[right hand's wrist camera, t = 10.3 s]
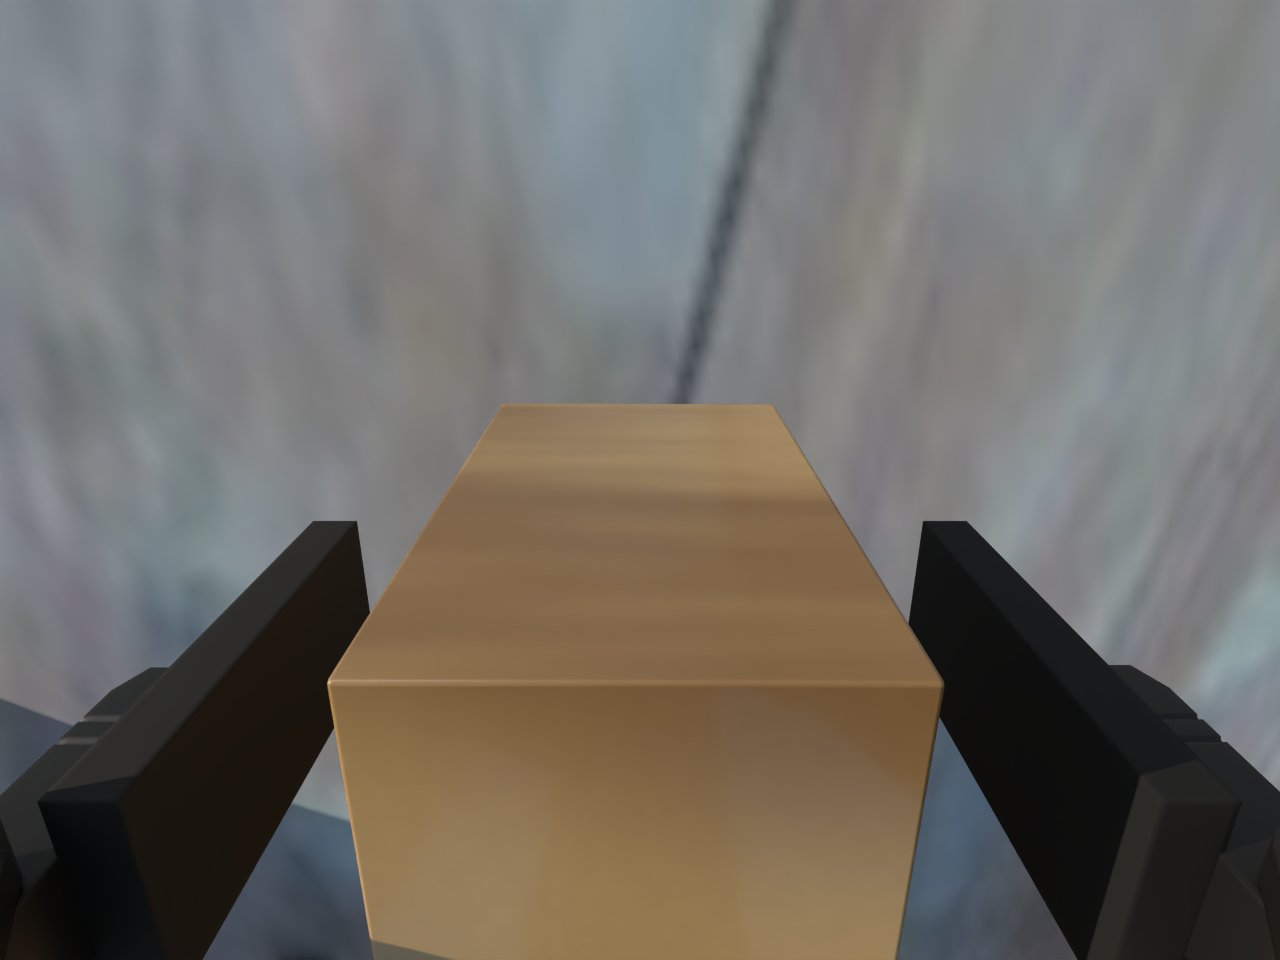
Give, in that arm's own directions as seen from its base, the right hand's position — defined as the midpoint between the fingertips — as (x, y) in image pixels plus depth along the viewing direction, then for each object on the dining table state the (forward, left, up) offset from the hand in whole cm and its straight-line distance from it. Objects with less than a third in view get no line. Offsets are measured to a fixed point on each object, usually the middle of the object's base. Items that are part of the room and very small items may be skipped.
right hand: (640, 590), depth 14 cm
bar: (+2, +8, -2) cm, 9 cm away
